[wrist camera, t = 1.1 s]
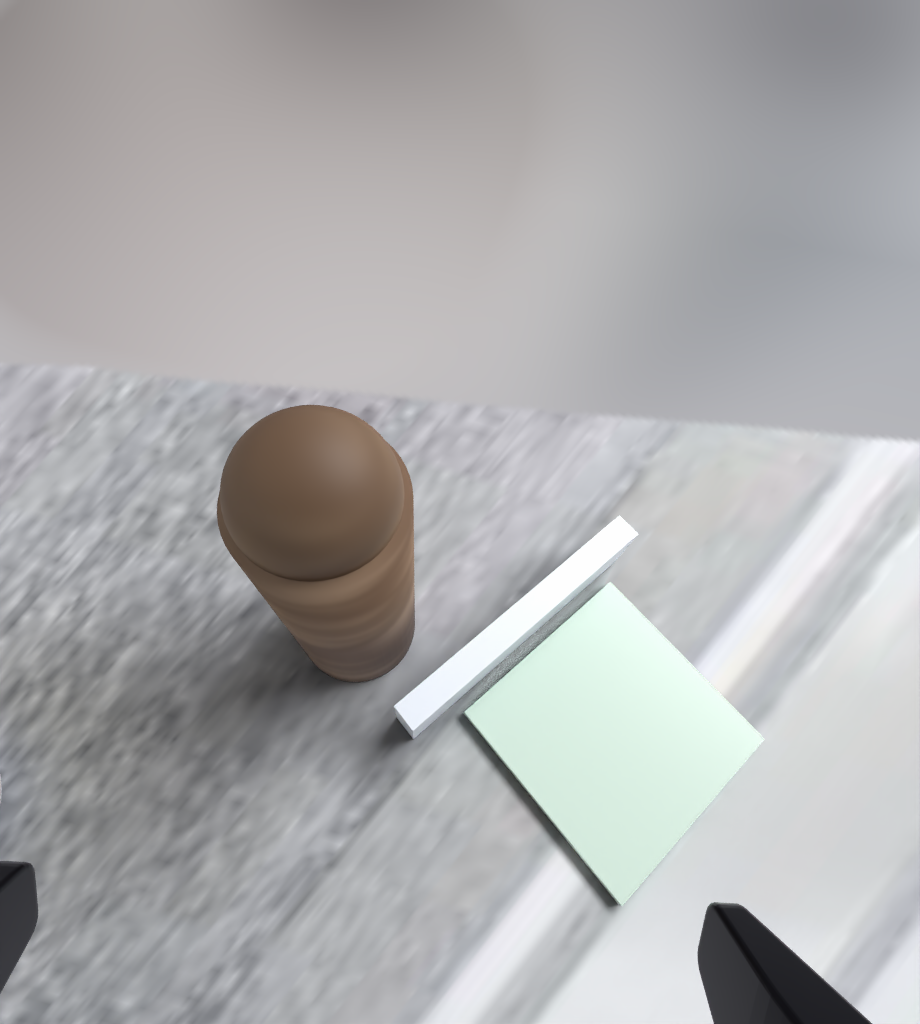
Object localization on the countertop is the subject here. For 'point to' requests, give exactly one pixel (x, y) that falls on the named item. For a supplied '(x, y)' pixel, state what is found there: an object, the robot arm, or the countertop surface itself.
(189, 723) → the countertop surface
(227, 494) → the pepper mill
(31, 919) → the robot arm
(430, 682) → the rail
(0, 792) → the supplement bottle
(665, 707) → the coaster
